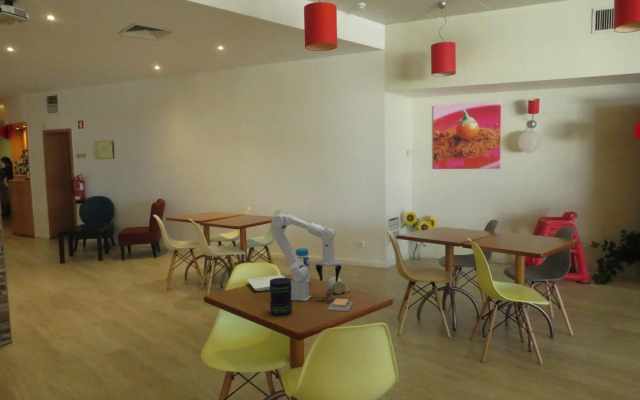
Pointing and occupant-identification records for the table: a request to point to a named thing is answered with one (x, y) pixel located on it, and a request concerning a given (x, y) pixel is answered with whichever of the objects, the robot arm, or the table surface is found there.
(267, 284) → the salad plate
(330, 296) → the bar
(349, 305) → the mat
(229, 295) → the table surface
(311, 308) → the table surface
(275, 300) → the storage jar
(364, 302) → the table surface
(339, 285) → the ceramic mug
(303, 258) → the beverage bottle
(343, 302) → the tile
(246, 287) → the table surface
